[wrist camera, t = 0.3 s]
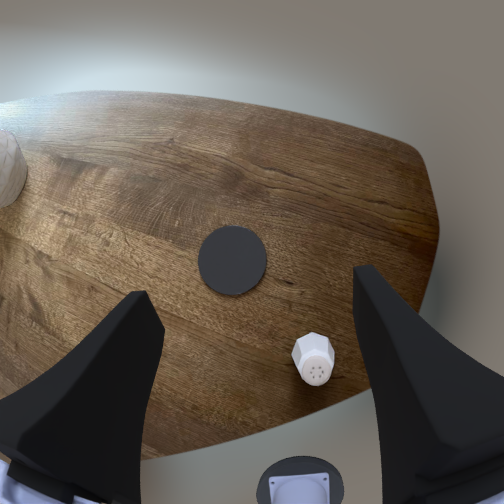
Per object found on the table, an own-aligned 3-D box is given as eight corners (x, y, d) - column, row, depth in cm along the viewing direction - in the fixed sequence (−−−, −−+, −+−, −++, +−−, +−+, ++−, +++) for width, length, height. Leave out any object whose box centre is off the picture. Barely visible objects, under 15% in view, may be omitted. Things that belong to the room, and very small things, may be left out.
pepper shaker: (292, 374, 39) (288, 400, 28) (290, 333, 40) (286, 345, 29) (334, 372, 38) (345, 396, 27) (333, 330, 39) (344, 341, 28)
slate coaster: (270, 290, 41) (269, 290, 40) (202, 298, 42) (200, 298, 41) (262, 221, 42) (262, 220, 42) (196, 231, 43) (195, 230, 43)
